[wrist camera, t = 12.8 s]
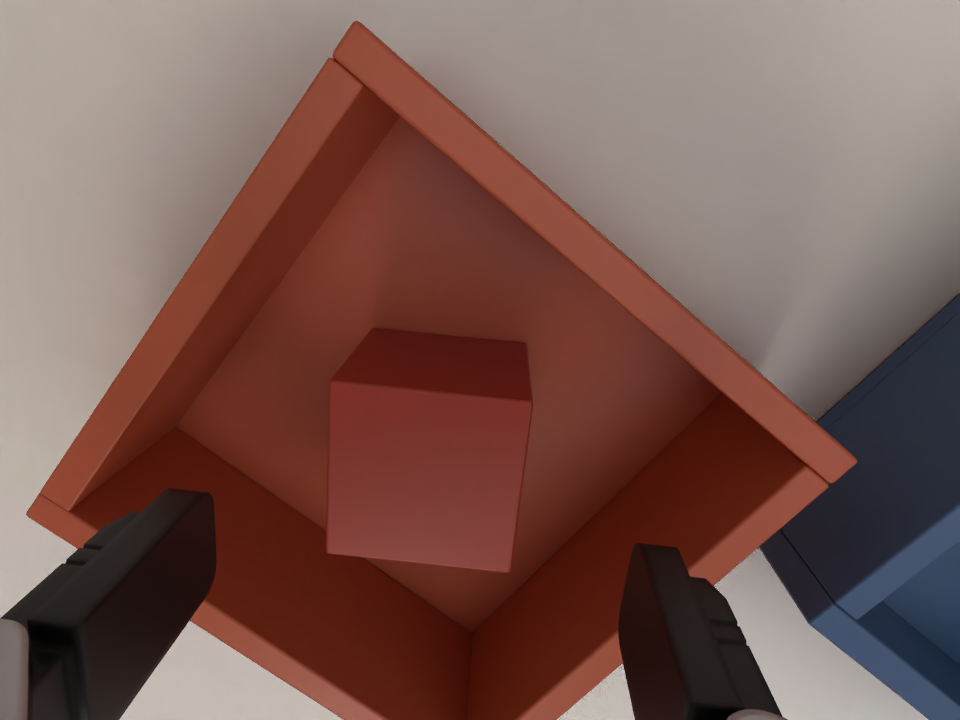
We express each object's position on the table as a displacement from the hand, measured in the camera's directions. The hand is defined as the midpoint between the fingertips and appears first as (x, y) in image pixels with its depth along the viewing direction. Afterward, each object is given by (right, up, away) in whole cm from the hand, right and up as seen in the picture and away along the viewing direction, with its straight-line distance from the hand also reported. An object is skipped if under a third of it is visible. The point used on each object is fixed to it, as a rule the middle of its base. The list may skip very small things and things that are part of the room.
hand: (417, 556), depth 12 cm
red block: (0, +2, +7) cm, 7 cm away
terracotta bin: (0, +3, +8) cm, 8 cm away
